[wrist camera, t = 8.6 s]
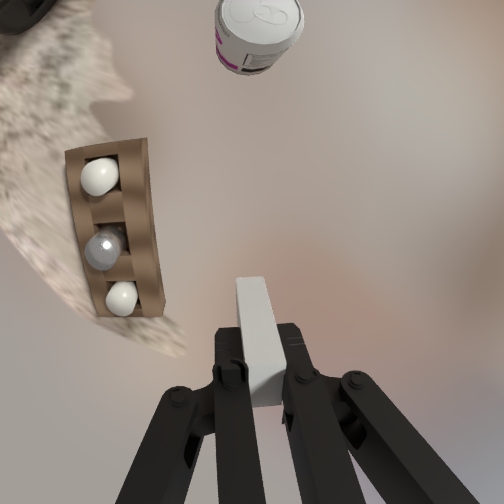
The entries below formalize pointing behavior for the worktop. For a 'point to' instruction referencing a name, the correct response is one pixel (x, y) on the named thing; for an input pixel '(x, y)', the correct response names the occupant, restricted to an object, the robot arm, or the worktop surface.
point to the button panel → (119, 224)
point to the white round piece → (100, 175)
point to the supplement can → (255, 32)
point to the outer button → (122, 297)
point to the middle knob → (105, 247)
